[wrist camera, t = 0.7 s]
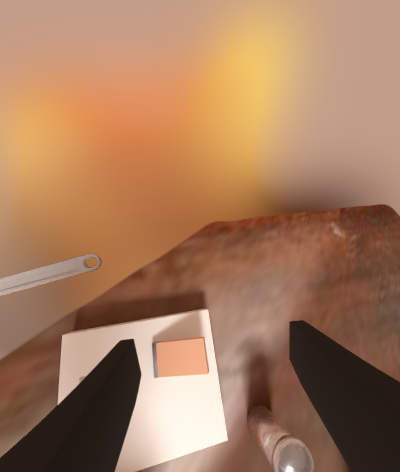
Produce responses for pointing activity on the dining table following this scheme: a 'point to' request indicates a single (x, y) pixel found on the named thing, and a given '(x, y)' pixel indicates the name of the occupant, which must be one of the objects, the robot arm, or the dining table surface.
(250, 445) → the dining table surface
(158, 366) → the block
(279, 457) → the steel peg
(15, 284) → the adjustable wrench
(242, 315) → the dining table surface
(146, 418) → the plate
